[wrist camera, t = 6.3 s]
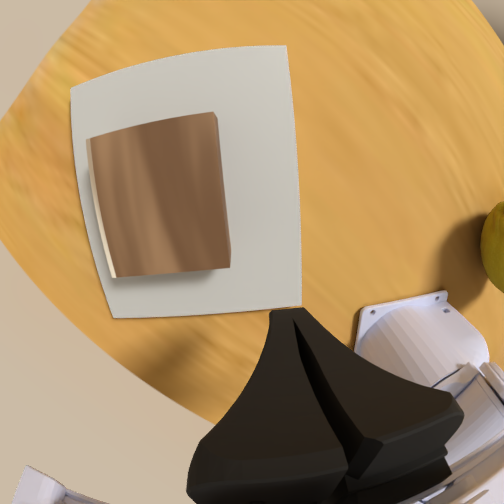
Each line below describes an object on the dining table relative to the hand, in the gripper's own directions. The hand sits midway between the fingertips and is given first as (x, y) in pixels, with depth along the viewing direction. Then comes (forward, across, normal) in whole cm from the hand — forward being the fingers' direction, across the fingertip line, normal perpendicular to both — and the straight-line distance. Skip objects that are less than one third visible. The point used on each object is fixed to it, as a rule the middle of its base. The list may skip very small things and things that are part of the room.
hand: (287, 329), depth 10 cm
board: (+8, +5, -5) cm, 11 cm away
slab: (+6, +2, -5) cm, 8 cm away
